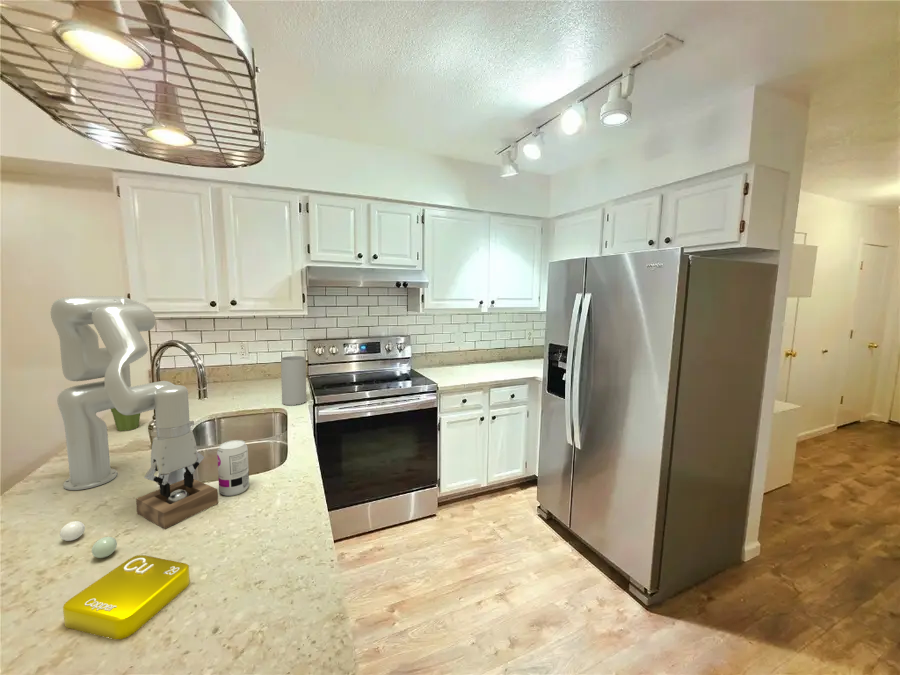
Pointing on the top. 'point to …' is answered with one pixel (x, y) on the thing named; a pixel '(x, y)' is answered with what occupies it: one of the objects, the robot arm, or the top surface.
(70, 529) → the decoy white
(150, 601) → the element tile
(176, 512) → the frame
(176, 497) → the steel ball
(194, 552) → the top surface
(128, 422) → the plant pot
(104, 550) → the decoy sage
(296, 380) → the cylinder vase
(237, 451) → the supplement can
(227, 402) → the top surface
